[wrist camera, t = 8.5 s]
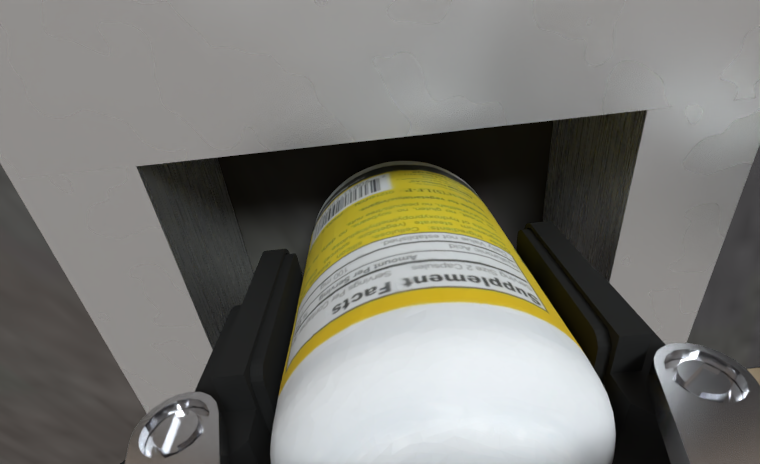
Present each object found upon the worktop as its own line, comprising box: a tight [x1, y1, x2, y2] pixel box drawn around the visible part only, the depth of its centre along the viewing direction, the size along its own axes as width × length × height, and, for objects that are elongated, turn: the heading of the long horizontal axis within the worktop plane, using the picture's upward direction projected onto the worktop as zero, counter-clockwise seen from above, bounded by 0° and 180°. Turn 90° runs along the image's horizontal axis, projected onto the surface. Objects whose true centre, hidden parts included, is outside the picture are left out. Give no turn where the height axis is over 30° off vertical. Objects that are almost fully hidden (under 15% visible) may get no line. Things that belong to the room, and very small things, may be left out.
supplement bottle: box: [270, 161, 616, 464], centre depth 8 cm, size 5×5×10 cm
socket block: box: [0, 0, 760, 413], centre depth 11 cm, size 15×16×4 cm
